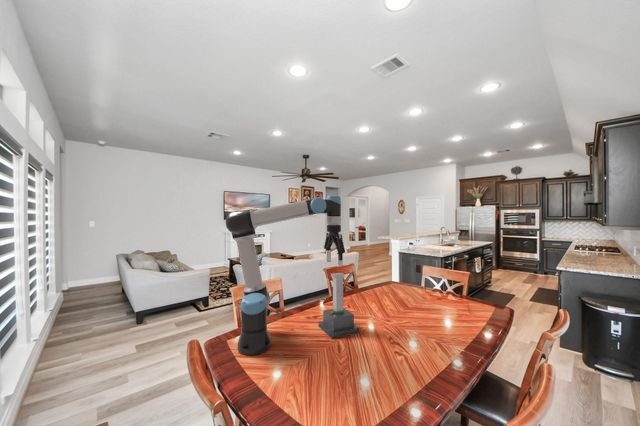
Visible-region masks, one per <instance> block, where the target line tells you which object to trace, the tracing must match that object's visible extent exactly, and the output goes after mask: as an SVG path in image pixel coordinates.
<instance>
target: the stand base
mask: <svg viewBox="0 0 640 426" xmlns="http://www.w3.org/2000/svg"><path fill="white" fill-rule="evenodd" d="M343 310H344V312H343V314H338V315H336V314H334V312H333V308H330V309H325V310H322V316H323V319H322V321H318V327H319V329H321V331H323V332H324V333H325V334H326V335H328V337H329V338H330V339H331V340H332V339H337V338H342V337H345V336H350V335H355V334H358V333H360V327H359V326H358V325H356V324H355V314H354V313H353V312H351V311H349V310H347V309H346V308H344V307H343Z"/></svg>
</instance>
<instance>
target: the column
mask: <svg viewBox="0 0 640 426" xmlns="http://www.w3.org/2000/svg"><path fill="white" fill-rule="evenodd" d="M330 278H332V309H333V312H334V314H336V315H338V314H343V312H344V310H343V308H344V278H345V273H343V272H334V273H330Z"/></svg>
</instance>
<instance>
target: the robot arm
mask: <svg viewBox="0 0 640 426" xmlns="http://www.w3.org/2000/svg"><path fill="white" fill-rule="evenodd" d="M341 201H342V200H341V197H340V196H339V195H327V197H326V199H324V198H322V197H314V198H309V199H304V200H301V201H296V202H291V203H286V204H285V203H284V204H281V205H276V206H275V205H274V206H272V207H271V206H270V207H265V208H261V209H257V210H256V209H255V210H253V209H251V208H250V209H245V210H243V209H241V210H239V209H238V210H232V211H231V212H229V214H228V215H227V216H226V218H225V227H226V229H227V230H228V231H229V232H230V233H231V235H232V236H231V237H232V240H234V241H235V242H236V245H237V251H238V256H239V260H240V265H241V270H242V275H243V282H244V284H245V285H244V286H245V287H244V288H243V295H244V296H243V297H242V299H241V302H240V319H241V321H240V322H241V325H240V328H241V331H240V332H241V333H240V336H239V339H238V341H237V351H238V353H240V354H242V355H245V356H254V355H260V354H263V353H265V352H266V351H268V350H270V348H271V346H272V340H271V339H272V338H271V337H270V334H269V330H268V309H269V305H270V301H271V297H270V294H269V292H268V289H267V284H265V283H264V282H263V279H262V274H261V269H260V264H259V259H258V254H257V248H256V244H255V240H254V237H255V236H256V229H257V228H258V227H260V226H266V225H270V224H275V223H279V222H280V223H281V222H283V221H289V220H294V219H298V218H304V217H308V216H312V215H318V214H319V215H320V214H324V215H325V214H326V235H325V241H324V245H323V249H324V250H325V263H331V262H332V246H333V244H334V245H335V248H336V251H337V253H336V254H337V255H336V257H337V258H336V259H337V260H336V262H337V264H336V265H337V267H338V268H342V267H343V256H344V255H343V254H346V249H345V246H344V241H343V234H342V233H341V232H342V226H341V224H342V214H341V213H342V202H341ZM339 233H341V234H339Z"/></svg>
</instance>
